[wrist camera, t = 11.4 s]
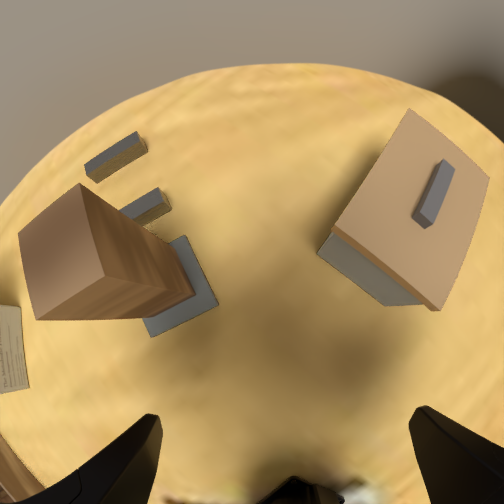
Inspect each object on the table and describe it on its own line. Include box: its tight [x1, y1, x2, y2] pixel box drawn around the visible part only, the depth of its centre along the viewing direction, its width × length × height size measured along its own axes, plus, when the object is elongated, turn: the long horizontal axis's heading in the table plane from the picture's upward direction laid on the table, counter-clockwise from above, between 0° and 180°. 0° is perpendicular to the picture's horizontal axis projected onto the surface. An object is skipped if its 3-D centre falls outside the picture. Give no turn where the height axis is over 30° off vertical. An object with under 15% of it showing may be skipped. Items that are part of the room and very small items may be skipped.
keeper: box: [84, 131, 172, 226], centre depth 22 cm, size 8×6×2 cm
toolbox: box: [317, 108, 489, 311], centre depth 17 cm, size 11×8×9 cm
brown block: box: [18, 183, 196, 320], centre depth 15 cm, size 4×4×12 cm
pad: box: [142, 235, 219, 338], centre depth 21 cm, size 6×6×1 cm
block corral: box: [0, 434, 45, 502], centre depth 14 cm, size 16×24×6 cm, turn 52°
